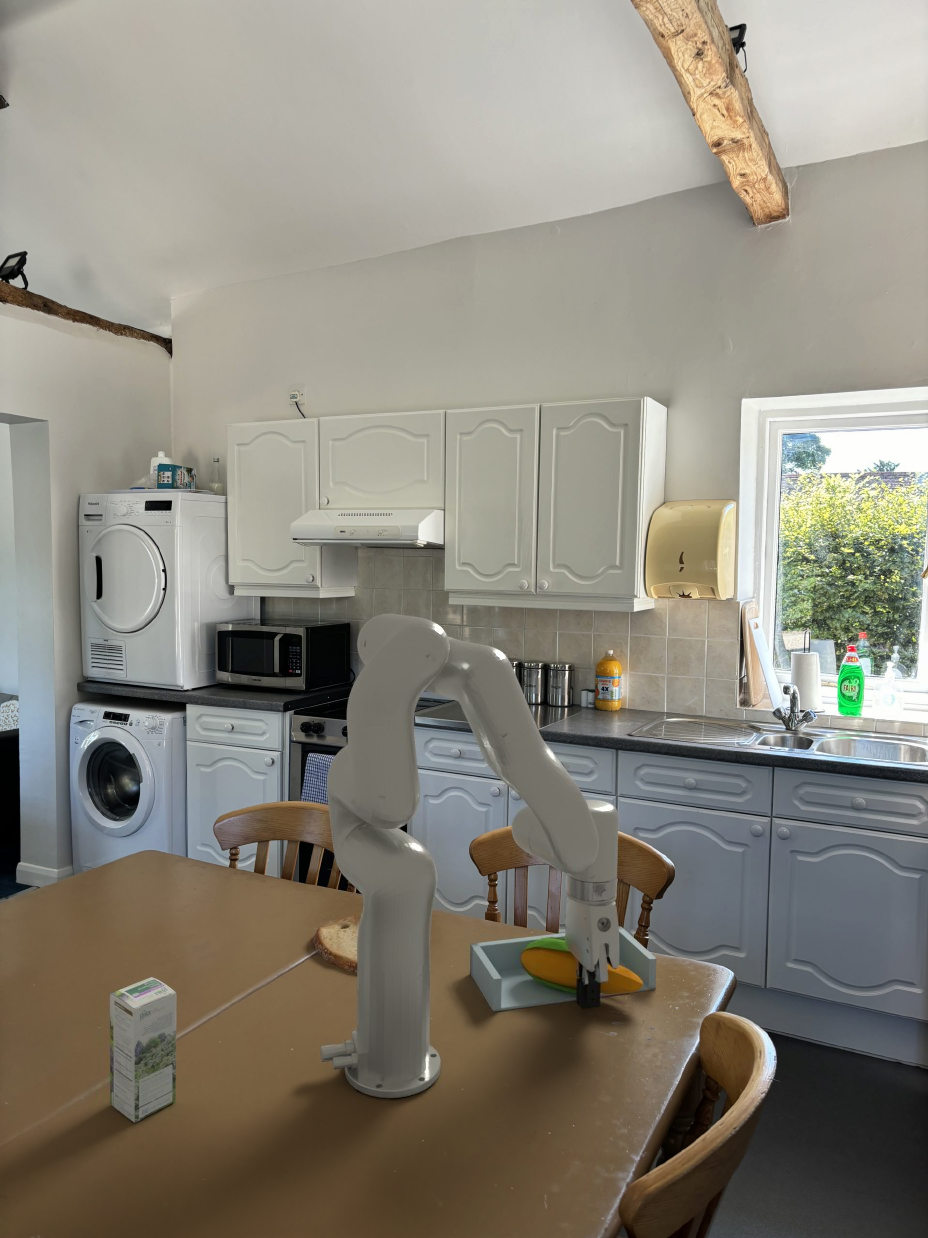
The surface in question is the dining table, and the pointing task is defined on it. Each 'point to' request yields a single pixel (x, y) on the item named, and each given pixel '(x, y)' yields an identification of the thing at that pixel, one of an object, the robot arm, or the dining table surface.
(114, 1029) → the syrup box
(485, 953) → the tray
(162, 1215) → the dining table surface
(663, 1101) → the dining table surface
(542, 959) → the corn
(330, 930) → the slice of bread
